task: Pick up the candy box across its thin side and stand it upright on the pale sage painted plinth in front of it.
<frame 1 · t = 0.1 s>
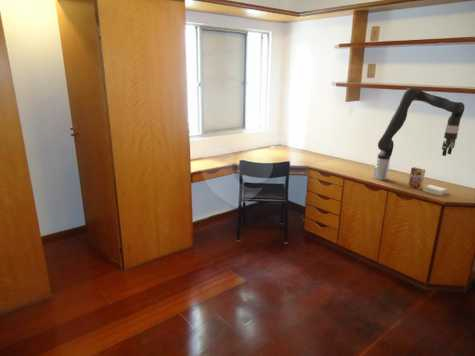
hand: (446, 154, 238), 29 cm above the table, fingers open, 8 cm apart
candy box: (414, 188, 259), on the table
plinth: (434, 191, 251), on the table
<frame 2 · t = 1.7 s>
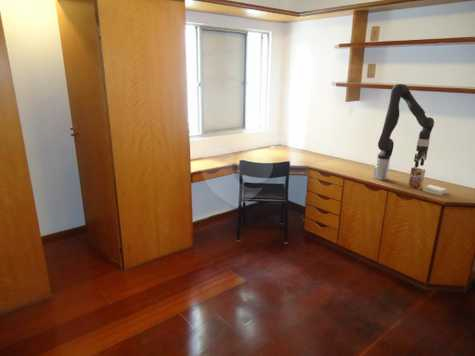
hand: (419, 166, 254), 17 cm above the table, fingers open, 8 cm apart
nothing on the table moved.
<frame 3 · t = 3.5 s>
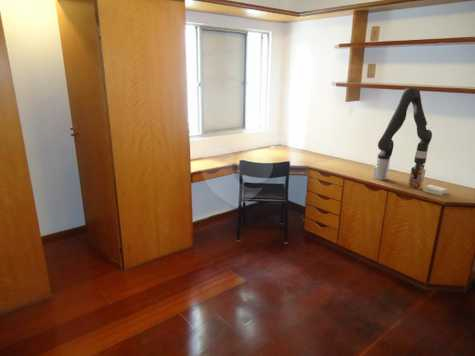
hand: (416, 178, 257), 7 cm above the table, fingers closed on candy box, 4 cm apart
candy box: (414, 188, 259), on the table, touching gripper
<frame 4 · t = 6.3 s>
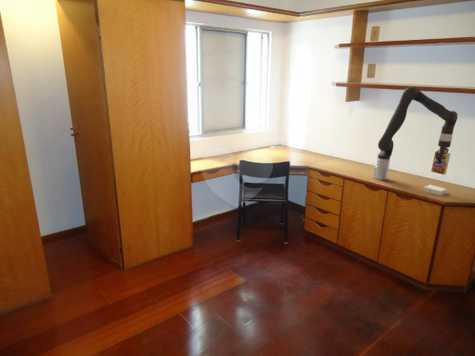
hand: (440, 163, 244), 22 cm above the table, fingers closed on candy box, 4 cm apart
candy box: (438, 173, 247), point 14 cm above the table, touching gripper
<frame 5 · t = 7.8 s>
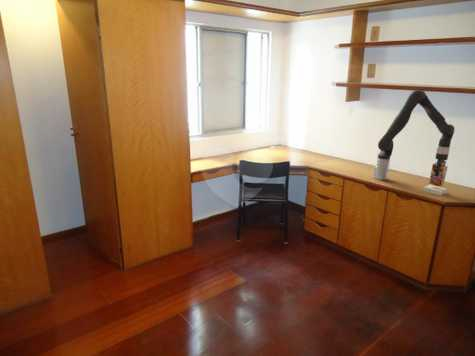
hand: (437, 175, 247), 13 cm above the table, fingers closed on candy box, 4 cm apart
candy box: (435, 185, 249), point 5 cm above the table, touching gripper
when the fingers open (11 cm above the table, at t = 9.0 s): candy box stays where it is, resting on plinth.
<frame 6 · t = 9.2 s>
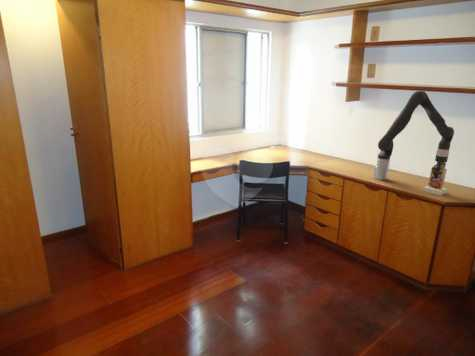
hand: (437, 177, 248), 11 cm above the table, fingers open, 5 cm apart
candy box: (434, 188, 250), point 3 cm above the table, touching plinth
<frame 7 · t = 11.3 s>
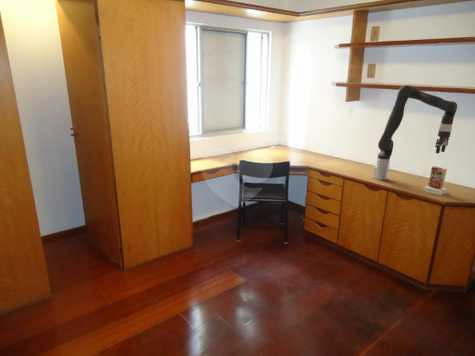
hand: (439, 152, 245), 29 cm above the table, fingers open, 8 cm apart
nothing on the table moved.
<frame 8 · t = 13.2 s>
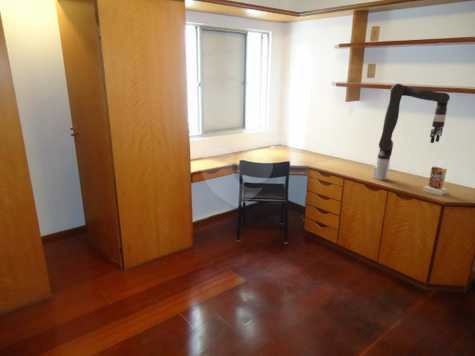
hand: (434, 142, 255), 34 cm above the table, fingers open, 8 cm apart
nothing on the table moved.
at the end: candy box inside the target area on the plinth (0.2 cm from its centre), point 2.9 cm above the plinth's base; candy box tilted 0°; the gripper is holding nothing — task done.
